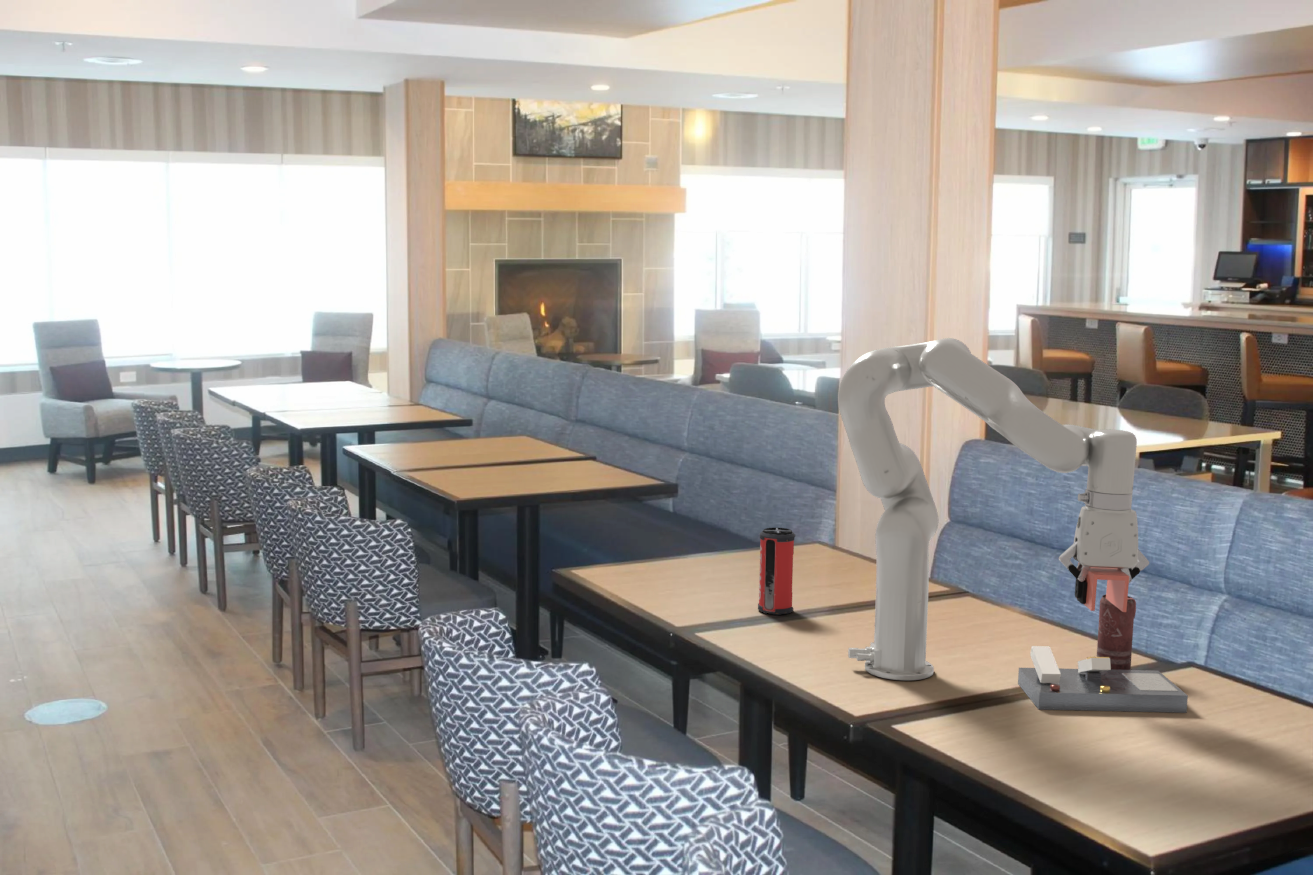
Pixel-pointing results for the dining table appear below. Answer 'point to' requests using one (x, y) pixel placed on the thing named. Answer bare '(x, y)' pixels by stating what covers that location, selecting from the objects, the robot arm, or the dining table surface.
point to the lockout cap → (1108, 587)
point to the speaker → (776, 571)
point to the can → (1116, 633)
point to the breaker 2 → (1094, 664)
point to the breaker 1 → (1045, 664)
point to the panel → (1104, 691)
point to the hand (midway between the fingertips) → (1100, 601)
